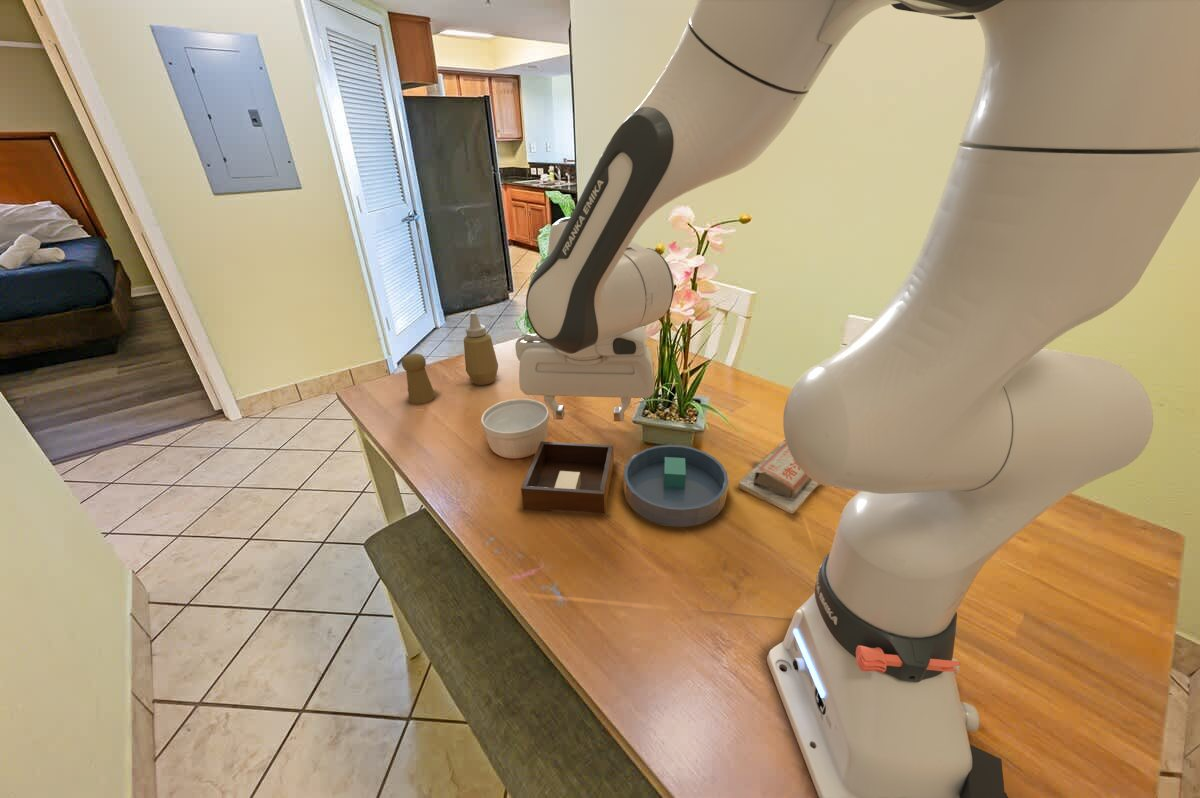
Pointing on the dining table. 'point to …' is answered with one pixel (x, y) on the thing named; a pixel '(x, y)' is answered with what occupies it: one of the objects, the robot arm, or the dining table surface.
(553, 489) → the tray
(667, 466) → the teal rectangular block
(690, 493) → the bowl
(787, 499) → the packaged product
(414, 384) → the pepper mill
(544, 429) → the ramekin
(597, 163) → the robot arm
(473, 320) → the squeeze bottle
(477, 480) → the dining table surface
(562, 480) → the beige block
